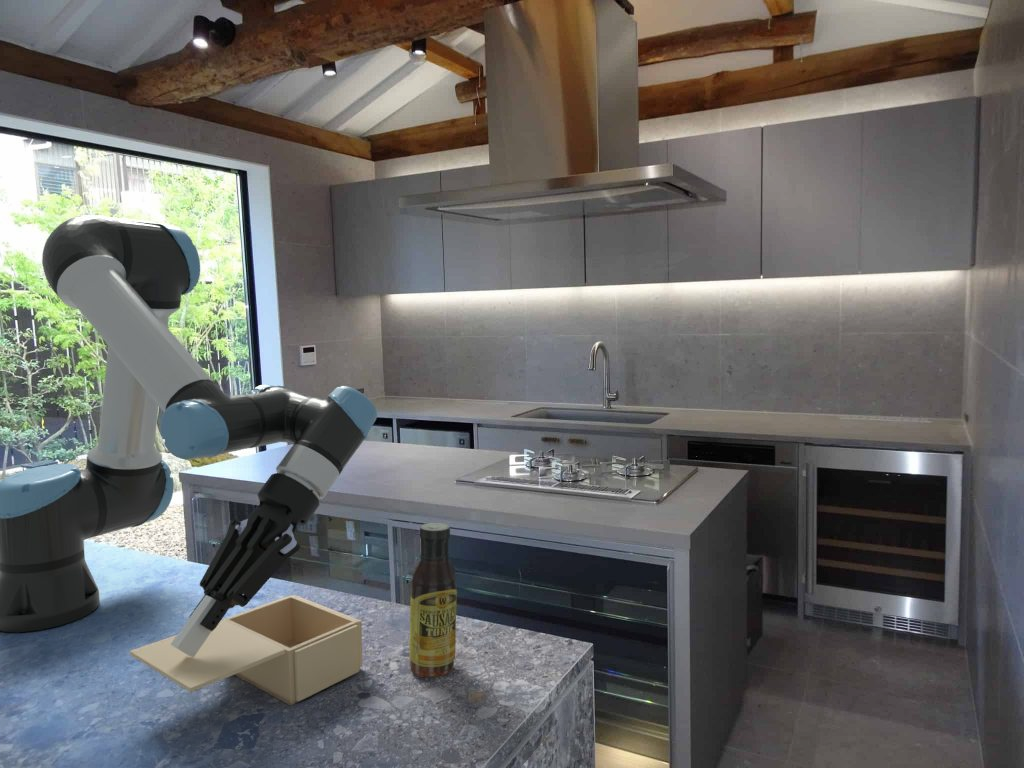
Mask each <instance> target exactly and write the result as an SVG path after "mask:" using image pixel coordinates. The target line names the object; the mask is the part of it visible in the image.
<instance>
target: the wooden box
mask: <svg viewBox="0 0 1024 768" xmlns="http://www.w3.org/2000/svg"><path fill="white" fill-rule="evenodd" d="M223 620H224V621H226V622H228V623H230V624H232V625H234V626H237V627H239V628H241V629H243V630H245V631H247V632H249V633H251V634H253V635H256V636H258V637H260V638H262V639H264V640H266V641H268V642H270V643H273V644H275V645H277V646H279V647H281V648H283V649H285V654H282V655H280V656H278V657H275V658H273V659H270V660H268V661H266V662H263V663H261V664H258V665H256V666H253V667H251V668H249V669H246V670H244V671H241V672H239V673H237V674H234V675H233V676H236V677H238V678H239V679H240V680H243V681H244V682H245V683H246V682H247V683H249V684H250V685H252V686H254V687H256V688H258V689H259V690H261V691H262V692H265V693H267V694H269V695H270V696H272V697H274V698H276V699H278V700H279V701H282V702H283V703H285V704H287V705H288V706H290V707H291V706H293V705H295V704H297V703H299V702H301V701H303V700H305V699H307V698H309V697H311V696H312V695H315V694H317V693H319V692H321V691H323V690H325V689H327V688H330V686H333V685H335V684H337V683H339V682H342V681H343V680H345V679H347V678H350V677H351V676H353V675H355V674H357V673H359V672H360V671H361V667H363V635H362V634H363V632H362V620H360V619H358V618H355V617H352V616H350V615H347V614H346V613H343V612H340V611H338V610H334V609H332V608H329V607H328V606H324V605H322V604H320V603H317V602H314V601H311V600H309V599H306V598H304V597H301V596H298V595H293V594H291V595H288V596H284V597H281V598H279V599H276V600H273V601H270V602H267V603H264V604H262V605H259V606H256V607H253V608H250V609H248V610H245V611H242V612H239V613H237V614H233V615H231V616H228V617H225V618H223Z"/></svg>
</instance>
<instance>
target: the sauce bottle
mask: <svg viewBox="0 0 1024 768" xmlns="http://www.w3.org/2000/svg"><path fill="white" fill-rule="evenodd" d="M419 537H420V539H421V541H420V555H419V557H420V558H419V559H420V561H419V562H418V564H417V565H416V566H415V567H414V571H413V574H412V578H411V593H410V614H409V617H410V618H409V654H408V655H409V656H408V658H409V660H410V661H409V664H410V665H409V666H410V671H411V673H413V674H414V675H415V676H416V677H417V676H418V677H422V678H427V679H433V678H434V679H435V678H440V677H444V676H445V675H448V674H449V673H451V672H452V670H453V668H454V664H455V659H456V646H457V645H456V643H457V639H456V637H457V623H456V622H457V596H458V594H457V593H458V591H457V590H458V589H457V581H456V571H455V568H454V566H453V564H452V562H451V560H450V553H449V539H450V537H451V527H450V525H449V524H447V523H443V522H429V523H424V524H422V525H421V526H420V529H419Z"/></svg>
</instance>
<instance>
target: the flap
mask: <svg viewBox="0 0 1024 768" xmlns="http://www.w3.org/2000/svg"><path fill="white" fill-rule="evenodd" d="M177 635H178V634H175V635H172V636H169V637H166V638H164V639H160V640H157V641H155V642H151V643H149V644H146V645H142V646H140V647H137V648H134V649H131V650H129V655H130V656H131V657H132V658H134V659H135V660H137V661H139V662H140V663H142V664H143V665H146V666H147V667H149V668H150V669H152V670H153V671H155V672H156V673H158V674H160V675H162V676H163V677H165V678H167V679H168V680H170V681H171V682H173V683H174V684H176V685H178V686H180V687H181V688H183V689H184V690H185V691H187V692H189V693H193V692H195V691H198V690H200V689H202V688H205V687H207V686H209V685H213V684H215V683H216V682H219V681H221V680H224V679H227V678H230V677H232V676H235V675H234V674H237V673H239V672H241V671H244V670H246V669H249V668H251V667H253V666H256V665H258V664H261V663H263V662H266V661H268V660H270V659H273V658H275V657H278V656H280V655H282V654H285V649H283V648H281V647H279V646H277V645H275V644H273V643H270V642H268V641H266V640H264V639H262V638H260V637H258V636H256V635H253V634H251V633H249V632H247V631H245V630H243V629H241V628H239V627H237V626H234V625H232V624H230V623H228V622H226V621H224V619H222V620H221V621H220V622H219V623H218V625H217V627H216V628H215V629H214V630H213V631H212V632H211V633H210V635H209V636H208V638H207V639H206V640H205V642H204V643H203V645H202V646H201V648H200V649H199V650H198V652H197V653H196V655H195V656H194V658H193V657H191V656H189V655H187V654H185V653H184V652H182V651H180V650H179V649H177V648H175V647H174V646H172V645H170V644H171V643H172V642H173V640H174V639H175V637H176V636H177Z"/></svg>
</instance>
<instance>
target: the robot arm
mask: <svg viewBox="0 0 1024 768" xmlns="http://www.w3.org/2000/svg"><path fill="white" fill-rule="evenodd" d="M41 258H42V259H41V261H42V262H41V263H42V269H43V272H44V277H45V279H46V281H47V283H48V284H49V287H50V288H51V290H52V291H53V292H54V294H56V296H57V297H58V299H60V301H61V302H62V303H63V304H64V305H66V306H67V307H69V308H72V309H74V310H75V309H76V310H79V312H80V313H81V314H82V315H83V316H84V318H85V319H86V320H87V322H89V324H90V325H91V327H93V329H94V330H95V331H96V332H97V333H98V335H99V337H101V338H102V339H103V341H104V342H105V343H106V345H107V357H106V365H105V374H104V375H105V376H104V384H103V385H104V386H103V395H102V396H103V397H102V407H101V415H100V426H99V435H98V437H99V438H98V444H96V445H95V446H94V447H93V448H91V449H90V450H88V452H87V454H86V455H87V456H86V466H85V468H83V469H80V468H79V467H78V465H76V464H73V463H56V464H54V463H53V464H50V465H47V466H45V465H41V466H37V467H33V468H28V469H25V470H22V471H19V472H15V473H12V474H11V475H9V476H6V477H4V478H3V479H2V480H1V481H0V632H2V633H3V632H5V633H25V632H35V631H41V630H47V629H50V628H55V627H59V626H63V625H65V624H69V623H72V622H75V621H77V620H78V621H79V620H80V619H82V618H84V617H87V616H88V615H90V614H92V613H93V612H95V611H96V610H97V609H96V608H97V606H98V605H99V606H100V604H99V603H100V602H101V601H100V590H99V588H98V585H97V583H96V581H95V578H94V576H93V574H92V572H91V570H90V567H89V566H88V563H87V562H86V557H85V541H84V540H87V539H91V538H95V537H99V536H102V535H103V536H104V535H106V534H111V533H113V532H118V531H120V530H125V529H127V528H135V527H139V526H142V525H144V524H145V523H149V522H151V521H154V520H156V519H158V518H159V517H160V516H161V517H162V515H163V514H164V513H165V512H166V511H167V509H168V507H169V506H170V504H171V501H172V498H173V495H174V494H173V493H174V487H175V486H174V484H175V483H174V479H173V477H171V474H172V471H171V469H170V466H169V465H168V464H167V462H166V461H165V460H163V455H162V453H161V452H160V451H159V450H158V449H157V448H156V447H155V442H156V434H157V422H158V413H159V409H160V410H161V411H162V412H163V413H162V416H161V418H160V427H159V428H160V436H161V437H163V439H164V443H163V444H164V446H165V448H166V450H167V451H168V452H169V453H170V454H171V455H173V456H174V457H176V458H178V459H181V460H196V459H204V458H213V457H217V456H219V455H223V454H227V453H228V454H229V453H232V452H236V451H241V450H247V449H253V448H258V447H263V446H267V445H273V444H278V443H287V444H290V445H292V446H291V447H290V448H289V450H288V452H287V453H286V454H285V455H284V457H283V458H282V459H281V460H280V462H279V463H278V465H277V466H276V468H275V469H276V471H275V473H272V474H271V475H270V476H269V477H268V479H267V480H266V482H265V483H264V484H263V486H262V487H261V488H260V490H259V491H258V493H257V497H258V498H257V499H258V500H259V504H258V506H257V507H256V508H255V509H254V510H253V511H251V512H250V514H249V515H248V516H247V518H246V519H243V520H242V521H240V520H238V518H234V519H232V520H231V521H230V522H229V524H228V525H229V526H228V528H227V533H226V534H225V537H224V538H223V540H222V541H221V544H220V546H219V547H218V549H217V550H216V553H215V555H214V556H213V558H212V560H211V562H210V564H209V565H208V566H207V569H206V571H205V572H204V575H203V576H202V578H201V580H200V581H199V586H200V587H201V588H203V589H202V590H203V594H204V595H203V597H202V598H201V600H199V602H198V604H197V605H196V606H195V608H194V609H193V611H192V612H191V614H190V616H189V618H188V619H187V621H186V622H185V623H184V625H183V626H182V628H181V629H180V631H179V632H178V633H177V634H176V635H177V636H176V637H175V639H174V640H173V642H172V643H171V644H170V645H172V646H174V647H175V648H177V649H179V650H180V651H182V652H184V653H185V654H187V655H189V656H191V657H193V658H194V656H195V655H196V653H197V652H198V650H199V649H200V648H201V646H202V645H203V643H204V642H205V640H206V639H207V638H208V636H209V635H210V633H211V632H212V631H213V630H214V629H215V628H216V627H217V625H218V623H219V622H220V621H221V620H223V619H224V617H225V615H226V614H227V613H228V611H229V609H233V608H235V606H239V607H241V608H244V607H245V606H247V605H248V604H249V602H250V601H252V599H253V598H254V597H255V595H256V594H257V593H258V592H259V591H260V590H261V589H262V588H263V586H265V584H266V583H267V582H268V581H269V579H271V577H273V575H274V574H275V573H276V572H277V570H279V568H280V567H282V565H283V564H284V563H285V561H286V560H287V559H289V558H290V557H291V556H293V555H294V554H296V552H298V551H299V550H300V548H301V543H299V542H298V541H297V540H296V539H295V536H294V534H296V532H297V529H298V526H306V525H307V524H308V523H309V521H310V520H311V518H312V517H313V516H314V514H315V512H316V511H317V510H318V508H319V506H320V500H323V499H324V498H325V497H326V495H327V494H328V492H329V491H330V489H331V488H332V487H333V485H334V483H335V481H336V480H337V479H338V477H339V476H340V475H341V473H342V472H343V470H344V468H345V467H346V465H347V464H348V463H349V461H350V459H351V458H352V457H353V456H354V454H355V453H356V452H357V450H358V449H359V448H360V446H361V445H362V443H364V440H366V439H367V437H368V434H369V433H370V431H371V429H372V427H373V426H374V424H375V422H376V420H377V418H378V411H377V408H376V406H375V405H374V404H373V402H372V400H371V399H370V398H369V397H368V396H366V395H365V394H364V393H362V392H361V391H359V390H357V389H356V388H353V387H351V386H347V385H341V386H337V387H336V388H334V390H333V391H331V393H329V394H328V395H327V398H323V397H318V396H315V395H310V394H306V393H303V392H300V391H297V390H292V389H290V388H288V387H285V386H281V385H274V384H267V383H266V384H260V385H258V386H255V388H253V389H252V390H250V391H248V393H245V394H237V395H227V394H226V393H225V392H224V391H223V390H222V389H221V388H220V386H219V385H217V384H216V382H215V381H214V379H212V377H210V375H209V373H207V372H206V371H205V370H204V368H203V367H202V366H201V365H200V364H199V362H198V361H197V359H195V358H194V357H193V355H192V354H191V353H190V352H189V350H187V349H186V347H185V346H184V345H183V343H181V341H180V340H178V338H177V337H176V336H175V334H173V332H171V330H170V328H169V319H170V317H171V316H172V315H173V314H174V313H176V312H178V311H179V310H180V309H181V301H182V296H183V295H187V294H189V293H191V292H193V290H194V287H196V286H197V285H198V283H199V280H200V277H201V262H200V255H199V253H198V250H197V247H196V245H195V244H194V243H193V240H192V239H191V236H189V235H188V234H187V233H186V231H184V230H183V229H182V228H179V227H177V226H176V225H170V224H165V223H162V222H159V221H153V220H152V221H151V220H140V219H131V218H121V217H114V216H113V217H110V216H105V215H97V214H85V215H84V214H83V215H79V216H76V217H75V216H74V217H72V218H69V219H67V220H65V221H63V222H62V223H61V224H59V225H58V226H56V227H55V228H54V229H53V231H51V233H50V235H49V236H48V237H47V239H46V240H45V243H44V247H43V250H42V257H41ZM99 606H98V607H99ZM95 609H96V610H95ZM92 611H93V612H92ZM91 612H92V613H91Z"/></svg>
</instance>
